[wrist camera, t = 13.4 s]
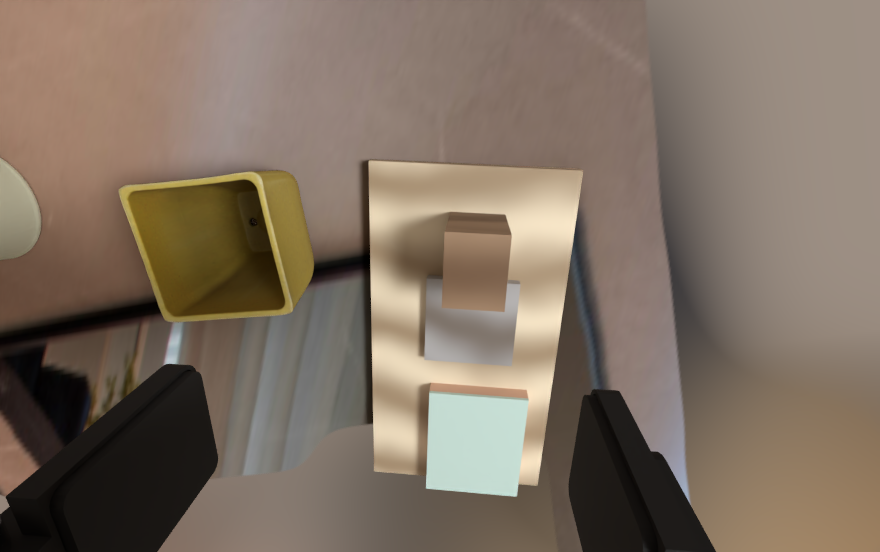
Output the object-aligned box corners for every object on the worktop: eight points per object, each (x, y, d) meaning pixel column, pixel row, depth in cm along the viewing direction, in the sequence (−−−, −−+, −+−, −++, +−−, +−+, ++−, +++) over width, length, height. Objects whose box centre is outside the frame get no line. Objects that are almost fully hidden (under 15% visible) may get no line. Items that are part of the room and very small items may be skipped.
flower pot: (235, 276, 36) (162, 324, 28) (204, 169, 33) (113, 186, 25) (337, 268, 35) (294, 315, 27) (315, 156, 32) (258, 170, 24)
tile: (429, 393, 35) (426, 488, 39) (528, 400, 35) (516, 496, 38) (431, 382, 37) (427, 475, 40) (526, 389, 36) (515, 483, 40)
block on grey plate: (429, 210, 32) (419, 230, 26) (526, 215, 31) (537, 236, 26) (425, 354, 36) (416, 398, 30) (511, 361, 36) (517, 406, 30)
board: (372, 159, 32) (368, 160, 31) (579, 168, 31) (583, 170, 30) (376, 461, 42) (374, 471, 41) (535, 475, 41) (537, 485, 40)
